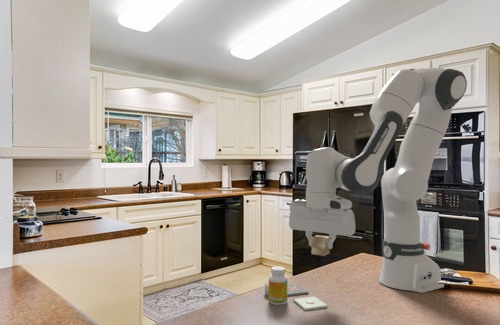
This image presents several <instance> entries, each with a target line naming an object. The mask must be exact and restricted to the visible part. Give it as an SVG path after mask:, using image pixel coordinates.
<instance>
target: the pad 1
mask: <svg viewBox="0 0 500 325" xmlns="http://www.w3.org/2000/svg"><path fill="white" fill-rule="evenodd" d="M302 295H309V291H308V290H307V289H305V288H304V287H302V286H301V285H300V284H291V285H289V284H287V297H293V296H302Z"/></svg>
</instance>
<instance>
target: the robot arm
mask: <svg viewBox="0 0 500 325" xmlns="http://www.w3.org/2000/svg"><path fill="white" fill-rule="evenodd" d="M467 83H468V82H467V78H466V76H465V74H464V73H463V72H462V71H460V70H458V69H455V68H447V69H446V68H440V67H426V68H409V69H407V68H405V69H400V70H398V71H397V72H396V73H395V74H394V75H392V77H390V79H389V80H388V81H387V82H386V84H384V86H383V87H382V89H381V90H380V91H379V93H378V95H377V96H376V98H375V99H374V101H373V103H372V105H371V108H370V111H369V117H370V121H371V122H372V124H373V125H374V130H373V132H372V134H371V135H370V138H369V139H368V142H367V143H366V145H365V147H364V148H363V150H362V152H360V154H359V155H357V156H355V157H354V158H352V157H349V156H346V155H344V154H342V153H340V152H339V151H337V150H335V149H334V147H333V146H332V147H331V146H327V147H320V148H314V149H312V150H310V151H309V152H308V154H307V156H306V164H305V166H306V167H305V178H306V182H307V183H306V188H305V199H294V200H292V201H291V202H290V204H289V211H290V212H289V220H288V226H289V228H290V230H294V231H295V230H297V231H302V232H303V231H304V232H305V237H306V238H307V240H308V246H309V247H312V237H313V233H319V234H320V233H322V234H328V235H329V236H328V237H330V241H329V242H326V248H327V249H330V250H332V249H333V248H334V246H333V243H334V241H335V240H336V238H337V236H346V237H350V236H352V235H354V234H355V233H356V219H355V213H354V212H353V210H352V207H353V202H352V201H351V200H349V199H346V198H344V197H341V196H339V195H337V194H336V193H337V189H339V188H340V189H342V190H346V191H349V192H352V193H353V194H357V195H367V194H370V193H371V192H373V191H374V190H375V189H376V188H377V187H378V186H379V183H380V184H381V185H380V186H381V196H382V205H383V206H382V207H383V208H382V209H383V216H384V217H383V219H384V225H383V227H384V230H383V231H384V232H383V233H384V234H383V235H384V236H383V237H384V239H383V240H382V253H383V259H382V266H381V271H380V276H379V278H378V281H379V283H380V284H381V285H384V286H386V287H390V288H392V289H397V290H401V291H411V292H416V293H420V294H421V293H422V294H423V293H427V292H431V291H435V290H438V289H443V288H445V287H444V284H439V283H435V282H438V281H440V280H441V278H442V274H441V267H440V266H439V265H438V263H436V262H435V261H434V260H432V259H431V258H430V257H429V256H428V255H427V254H425V250H426V251H430V249H431V245H430V244H429V243H426V242H423V243H421V217H420V214H419V212H418V205H417V201H418V200H420V199H421V198H423V197H424V196H425V195H426V194H427V192H428V189H429V180H430V175H431V171H432V168H433V167H432V166H433V162H434V160H435V157H436V155H437V152H438V150H439V148H440V146H441V143H442V142H443V139H444V137H445V135H446V132H447V130H448V127H449V124H450V121H451V117H452V112H453V111H452V110H453V107H455V105H456V104H457V103H459V102H460V101H461V99H462V98H463V97H464V95H465V93H466V91H467V86H468V84H467ZM417 103H418V109H417V110H416V112H415V114H414V116H413V117H412V119H411V121H410V123H409V126H408V128H407V131H406V132H405V134H404V136H403V137H404V138H403V139H402V141H401V143H400V147H399V152H398V154H397V159H396V162H395V165H394V167H391V168H389V169H388V170H386V171H385V172H384V174H383V175H382V170H383V166H384V164H385V161H386V160H387V158H388V156H389V154H390V152H391V150H392V148H393V147H394V145H395V143H396V141H397V139H398V137H399V135H400V134H401V130H402V128H403V126H404V124H405V123H406V121H407V119H408V118H409V116H411V115H410V114H412V112H413V109H414V108H415V107H416V105H417Z"/></svg>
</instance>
